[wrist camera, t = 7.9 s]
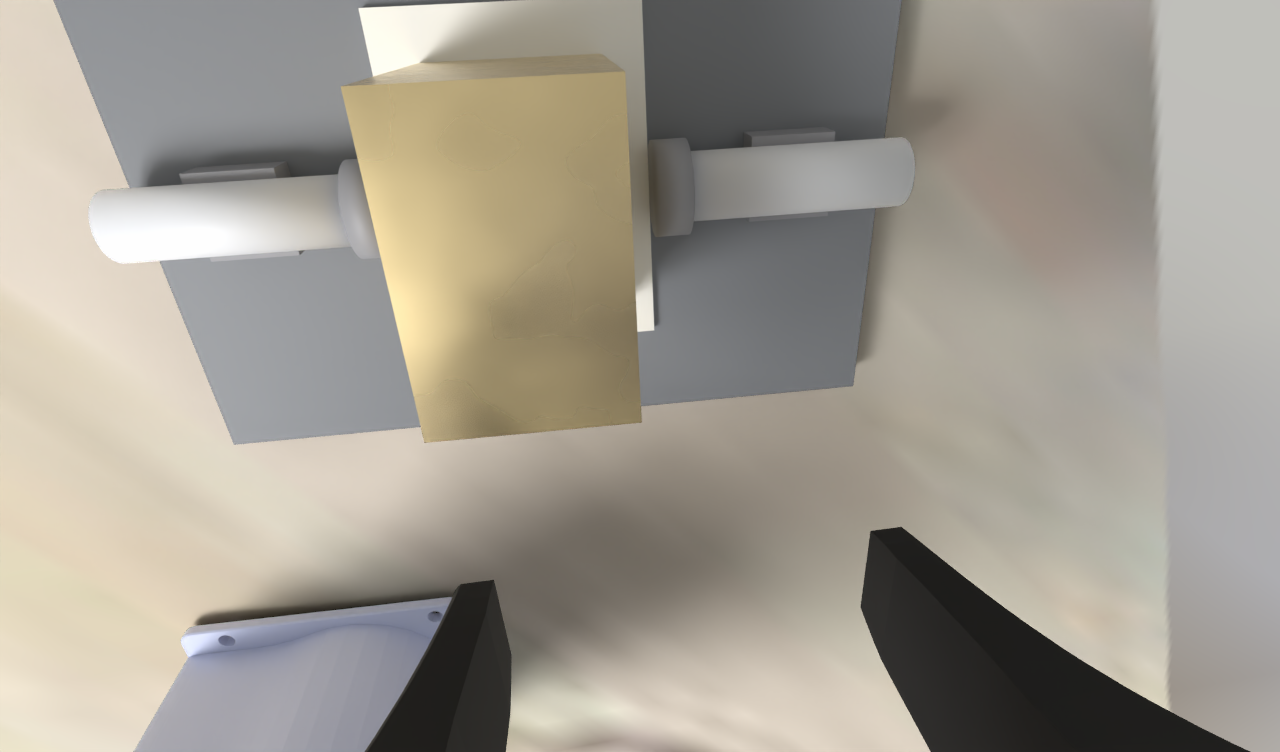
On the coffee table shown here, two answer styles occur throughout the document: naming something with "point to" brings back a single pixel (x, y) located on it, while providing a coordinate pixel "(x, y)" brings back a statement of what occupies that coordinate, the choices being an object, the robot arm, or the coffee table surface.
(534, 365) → the wooden block
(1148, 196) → the coffee table surface
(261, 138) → the shaft rig
